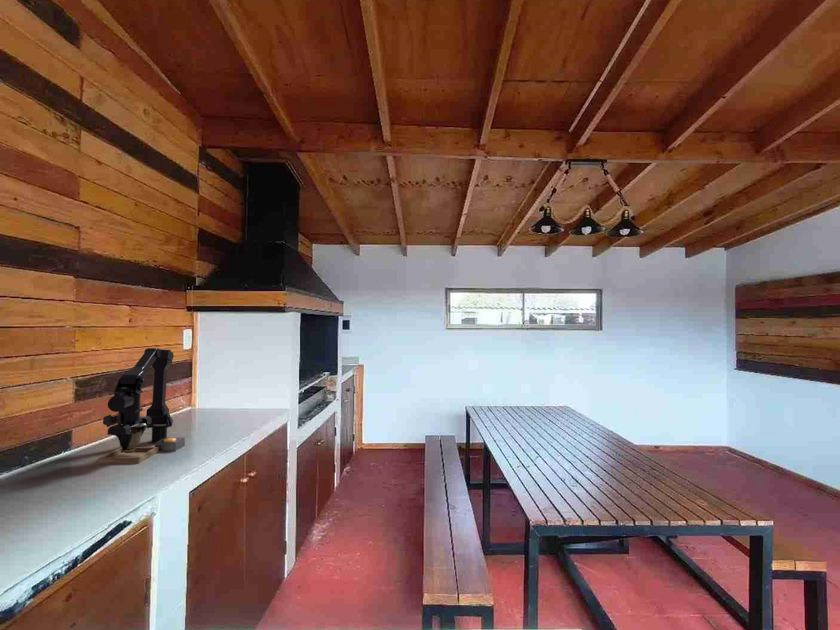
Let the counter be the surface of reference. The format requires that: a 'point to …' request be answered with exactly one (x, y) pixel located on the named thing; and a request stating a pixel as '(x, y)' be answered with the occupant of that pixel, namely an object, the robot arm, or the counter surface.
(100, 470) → the counter surface
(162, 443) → the panel
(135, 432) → the ornate lamp shade
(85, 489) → the counter surface
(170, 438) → the button
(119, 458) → the wooden tray
